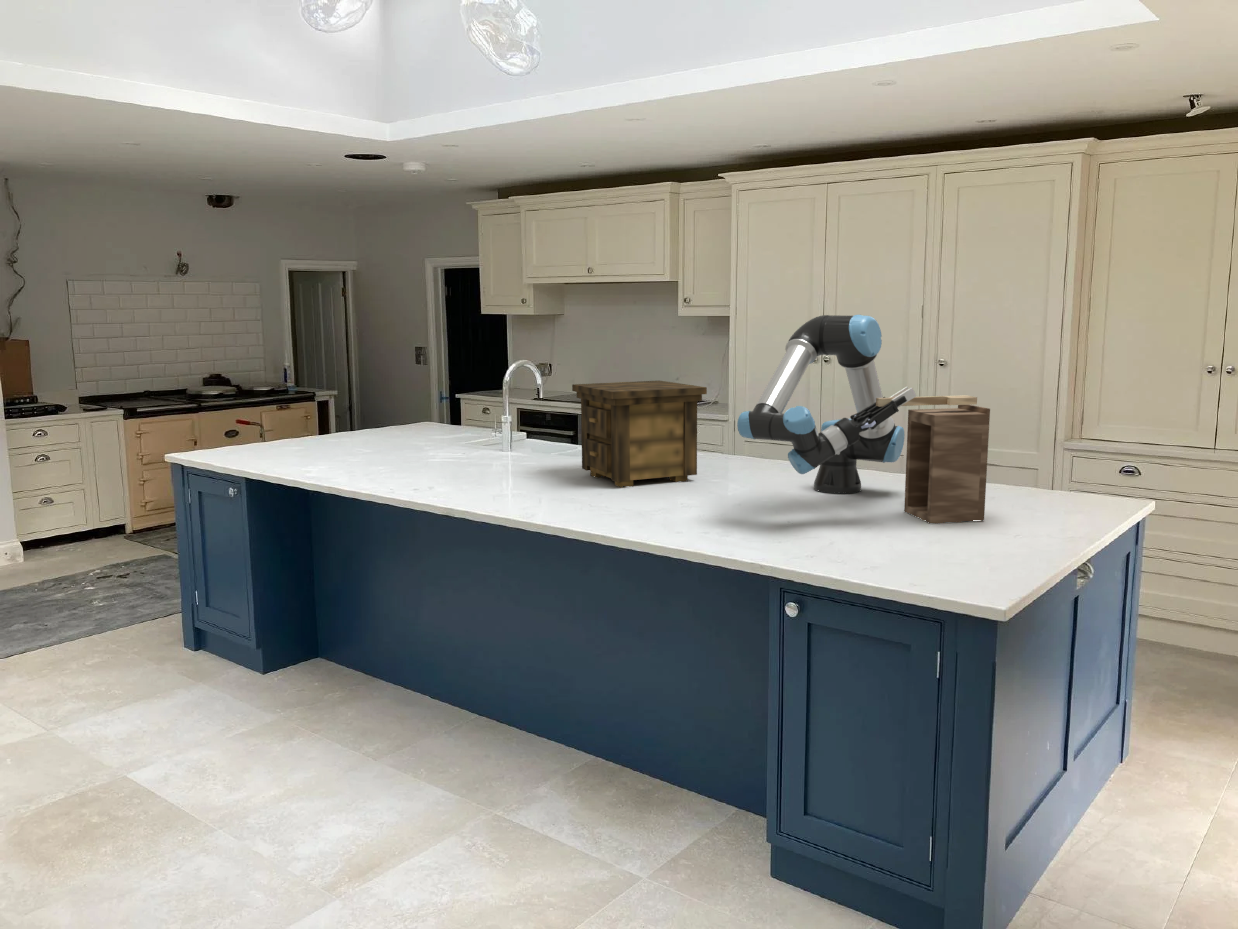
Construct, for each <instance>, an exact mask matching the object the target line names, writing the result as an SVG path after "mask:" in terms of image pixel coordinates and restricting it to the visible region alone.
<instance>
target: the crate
mask: <svg viewBox="0 0 1238 929" xmlns="http://www.w3.org/2000/svg"><path fill="white" fill-rule="evenodd" d="M571 386H572V388H571V389H572V392H574V393H576V398H577V399H580V415H581V416H580V421H581V422H580V424H581V426H580V427H581V429H580V430H581V431H580V432H581V469H582V470H584V471H590V476H591V477H593V476H595V477H594V478H602V477H601V476H606V477H605V478H609V479H611V481H613V482H614V485H615V486H616V487H619V486H620V487H619V488H624V487H623V486H629V487H634V481H637V480H639V481H640V480H647V479H660V478H668V477H669V480H670V479H671V480H673V481H672V482H674V481H675V482H676V483H679V482H678V481H681V482H687V481H686V480H689V479H688V477H689V476H697V475H698V402H702V401H703V395H707V392H708V391H707V390H708V389H707V386H702V385H701V386H700V385H692V384H688V383H687V384H686V383H679V382H674V381H673V382H672V381H666V380H665V381H663V380H644V381H642V380H640V381H639V380H638V381H619V382H618V381H617V382H599V383H598V382H597V383H578V384H577V383H574V384H571ZM671 480H670V481H671Z"/></svg>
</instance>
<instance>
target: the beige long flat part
mask: <svg viewBox="0 0 1238 929" xmlns="http://www.w3.org/2000/svg"><path fill="white" fill-rule="evenodd" d="M894 398H895V397H892V398H889V397H885V398H876V406H879V407H883V406H884V405H886V404H888V403H890V402H891V401H892V399H894ZM940 405H941V406H958V405H974V406H975V405H978V396H977V397H976V396H974V395H973V396H972V395H967V394H966V395H937V396H936V395H934V396H932V395H931V396H930V395H929V396H916V397H914V398H913V399H911V400H910V401H908V402H906V403H905V404H903V405H902V406H901V407H910V406H911V407H912V406H914V407H915V406H940Z"/></svg>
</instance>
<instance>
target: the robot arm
mask: <svg viewBox="0 0 1238 929" xmlns="http://www.w3.org/2000/svg"><path fill="white" fill-rule="evenodd" d="M882 337H883V336H882V331H881V327H880V324H879V323H878V321H877V320H876V319H875V318H874V317H872V316H870V315H862V314H854V315H840V314H839V315H830V314H823V315H819V316H815V317H813V318H811V319H809V320H808V321H805V323H803V324H802V325H801V326H799V328H797V330H796V331H795V332H793V334H792V335H791V336H790V337H789V339H788V341H787V342H786V345H785V349H784V350H785V353H784V356H782V358H781V360H780V362H779V364H778V365H777V367H776V369H775V371H774V373H773V375H772V377H771V378H770V380H769V381H768V383H767V385H766V387H765V389H764V391H763V392H762V394H761V396H760V398H759V399H758V400H757V403H756V405H755V406H754V408H753V410H747V411H743V412H741V413H740V414H739V415H738V419H737V431H738V433H739V436H741V437H743V438H746V439H751V440H752V439H753V440H763V441H765V440H767V441H777V442H789V443H791V445H792V446H793V448H791V450H790V451H789V452H788V453H787V458H788V461H789V463H790V465H791V466H792V468H794V470H795V471H796V472H797V473H798V474H800V475H805V474H807V473H809V472H811V471H813V470H815V469H816V468H818V470H817V473H816V476H815V479H814V482H813V490H815V491H817V490H819V491H818V492H820V491H822V492H821V493H826V492H827V494H840V493H843V494H853V493H855V492H856V493H859V492H861V491H862V481H861V478H860V475H859V474H860V473H859V471H858V469H857V468H858V467H857V461H858V460H859V461H866V462H877V463H883V464H885V463H896V462H897V461H898V460H899V458H900V457H901V455H902V451H903V449H904V444H905V430H904V427H902V426H901V425H896V423H895V420H894V418H893V417H892V416H893V415H895V414H896V413H899V409H898V408H900V407H903V406H902V405H903V404H905V403H906V402H908V401H910V400H911V399H913V398H914V397H917V394H916V392H915V390H914V387H910V388H909V386H905V387H904V388H902V389H900V390H899V391H896V393H894V394H892V395H891V396H889V397H888V398H892V397H895V398H894V399H892V401H891V402H890V403H888V404H886V405H884V406H883V407H879V406H876V398H886V396H883V393H882V388H881V383H880V380H879V376H878V372H877V368H876V363H875V359H876V358H877V356H878V354H879V353H880V350H881V348H882V341H883V340H882ZM824 355H825V356H836V360H837V363H838V364H839V366H840V367H842V368H844V369H845V373H846V377H847V380H848V384H849V387H850V390H851V395H852V399H853V402H854V406H855V410H856V413H855V414H851V415H850V416H849V417H850V418H848V417H843V418H840V419H832V420H827V421H824V422H823V423H822V424H821V429H820V432H818V429H817V426H816V424H815V423H816V421H815V419H814V417H813V416H812V412H810V410H809V409H808V408H807V407H805V406H803V405H796V406H795V407H793V406H792V407H790V408H788V409H787V410H786V411H785V409H786V407H787V405H788V403H789V401H790V399H792V396H793V395H794V393H795V390H796V389H797V387H798V385H799V383H800V381H801V379H802V378H803V375H804V374H805V373H806V370H807V368H808V366H809V365H810V364H812V363H815V361H816V359H817V358H818V357H820V356H824ZM784 411H785V412H784ZM783 412H784V413H783ZM860 490H861V491H860ZM858 491H859V492H858Z"/></svg>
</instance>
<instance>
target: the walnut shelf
mask: <svg viewBox="0 0 1238 929" xmlns="http://www.w3.org/2000/svg"><path fill="white" fill-rule="evenodd" d="M990 418H991V408H988V407H983V406H979V405H975V404H974V405H957V407H955V408H954V407H952V408H951V407H950V408H921V409H920V408H917V409H915V408H914V409H908V412H907V435H906V455H905V456H906V459H905V460H906V462H905V481H904V482H905V484H904V485H905V486H904V505H903V507H904V510H903V511H905V512H904V513H906V512H907V513H906V514H908V513H910V514H912V515H914V516H913V517H915V516H916V517H915V518H917V517H919V518H921V519H922V520H921V519H920V520H921V521H923V520H926V521H927V522H926V521H925V522H926V523H928V522H929V523H928V524H930V523H935V524H946V523H945V522H956V523H962V522H961V521H973V520H984V521H985V508H986V493H987V492H986V491H987V475H988V473H987V471H988V458H989V457H988V455H989V453H988V452H989V440H990V439H989V436H990V422H991V421H990ZM910 514H909V515H910ZM912 515H911V516H912ZM919 518H918V519H919ZM943 522H944V523H943Z"/></svg>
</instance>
